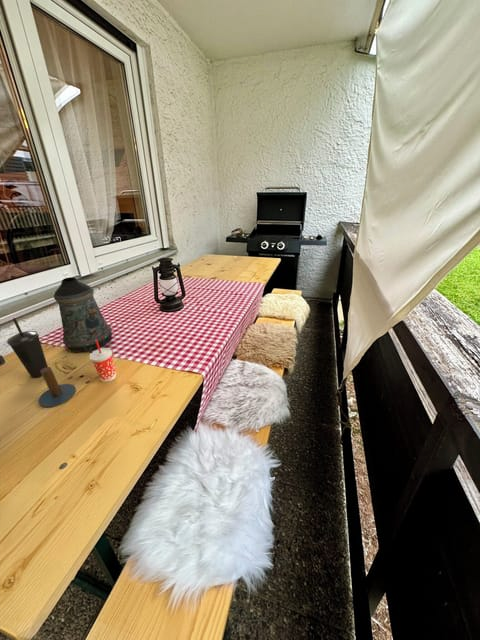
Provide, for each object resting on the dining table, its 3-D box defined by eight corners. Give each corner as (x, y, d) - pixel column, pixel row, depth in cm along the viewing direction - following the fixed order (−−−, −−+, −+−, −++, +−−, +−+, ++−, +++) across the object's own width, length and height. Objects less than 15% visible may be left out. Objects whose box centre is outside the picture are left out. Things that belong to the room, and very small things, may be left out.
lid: (31, 403, 72) (16, 376, 68) (60, 382, 80) (49, 357, 75) (55, 411, 70) (42, 383, 65) (82, 388, 77) (72, 362, 73)
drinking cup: (58, 370, 85) (35, 316, 76) (32, 384, 79) (4, 327, 70) (46, 363, 88) (22, 310, 79) (21, 375, 83) (-8, 320, 73)
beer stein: (89, 357, 91) (66, 291, 79) (49, 348, 97) (22, 284, 85) (122, 334, 105) (106, 274, 93) (85, 327, 111) (66, 270, 99)
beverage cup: (97, 374, 83) (84, 337, 76) (118, 368, 85) (107, 332, 79) (97, 386, 78) (83, 347, 71) (119, 380, 80) (107, 342, 74)
